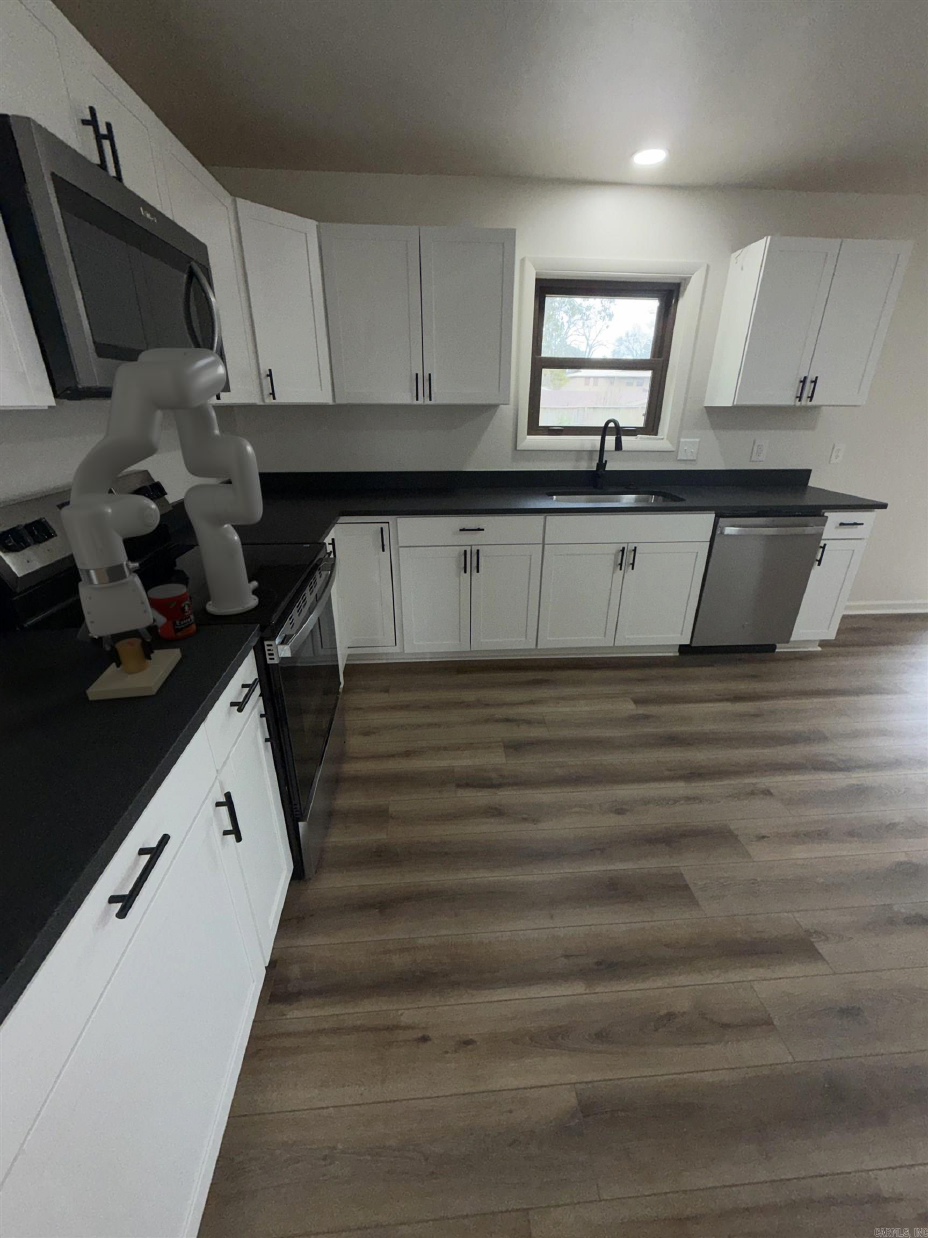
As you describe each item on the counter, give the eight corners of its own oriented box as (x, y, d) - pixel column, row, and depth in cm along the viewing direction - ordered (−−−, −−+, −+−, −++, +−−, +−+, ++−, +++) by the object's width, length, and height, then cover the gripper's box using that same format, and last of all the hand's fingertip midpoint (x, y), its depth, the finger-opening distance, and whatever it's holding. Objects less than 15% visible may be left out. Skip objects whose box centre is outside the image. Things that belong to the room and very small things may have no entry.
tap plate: (125, 660, 104) (122, 651, 103) (181, 656, 106) (179, 647, 105) (89, 700, 91) (85, 690, 90) (154, 694, 92) (151, 684, 91)
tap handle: (118, 669, 97) (110, 643, 94) (142, 660, 100) (134, 634, 98) (129, 676, 95) (120, 649, 92) (153, 666, 98) (145, 640, 95)
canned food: (181, 641, 112) (169, 596, 107) (151, 638, 114) (138, 594, 109) (204, 627, 119) (194, 584, 114) (175, 624, 120) (164, 582, 116)
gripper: (157, 559, 96) (179, 642, 104) (48, 575, 88) (81, 665, 95) (161, 569, 91) (185, 657, 98) (45, 588, 82) (81, 682, 90)
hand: (133, 660), depth 97 cm, fingers closed on tap handle, 4 cm apart
